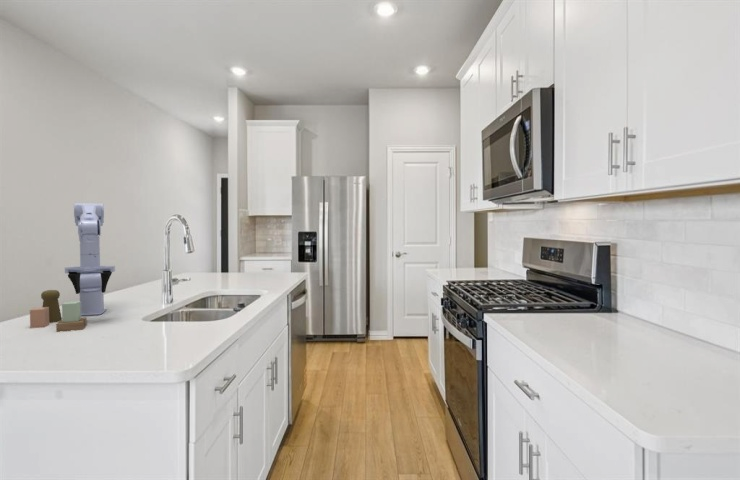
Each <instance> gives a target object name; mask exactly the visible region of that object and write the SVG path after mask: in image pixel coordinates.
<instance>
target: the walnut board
mask: <svg viewBox="0 0 740 480" xmlns="http://www.w3.org/2000/svg"><path fill="white" fill-rule="evenodd" d="M87 321H88V319H87V317H81V319H80V320H78V321H77V322H62V319H61V320H60V321H58V322H56V325H55V326H56V327H55V328H56V329H55V330H56V333H61V332H60V331H63V332H71V330H74V331H81V330H84V329H85V328H86V326H87V325H88V322H87Z"/></svg>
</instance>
